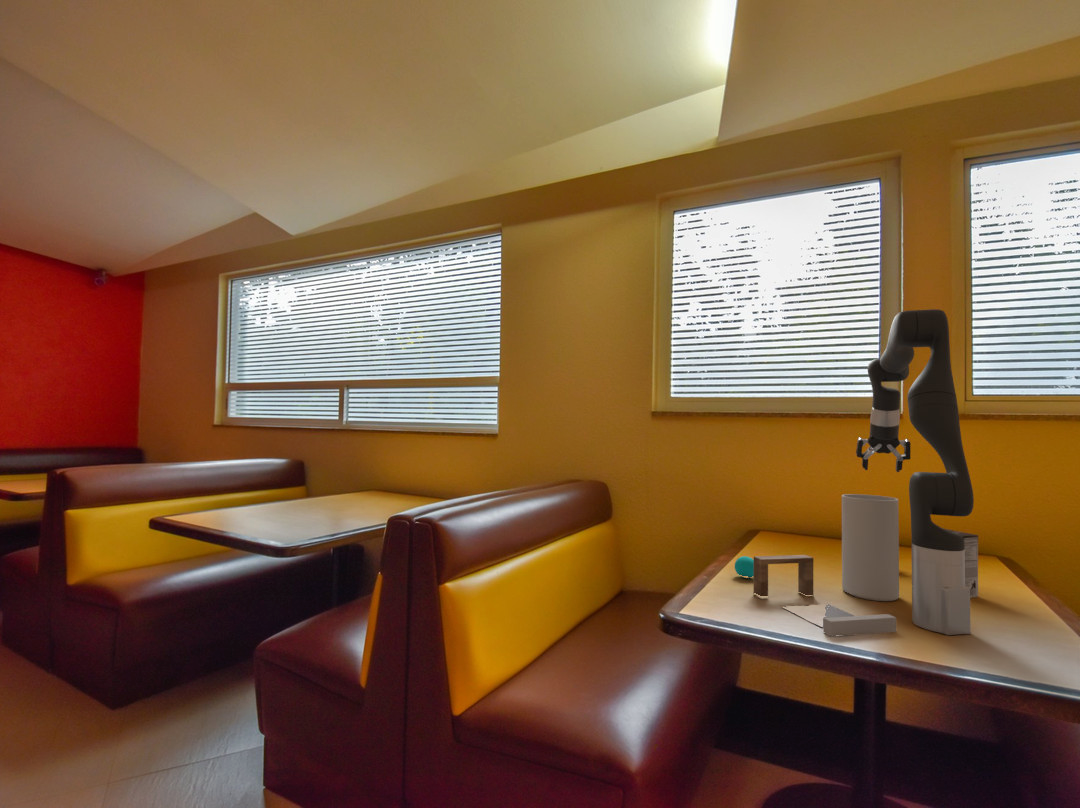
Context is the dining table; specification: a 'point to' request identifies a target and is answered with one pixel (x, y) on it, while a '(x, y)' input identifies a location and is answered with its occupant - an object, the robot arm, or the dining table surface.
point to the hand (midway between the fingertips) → (881, 470)
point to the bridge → (803, 563)
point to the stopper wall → (859, 625)
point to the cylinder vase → (870, 547)
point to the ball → (745, 566)
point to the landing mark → (835, 612)
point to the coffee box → (970, 561)
